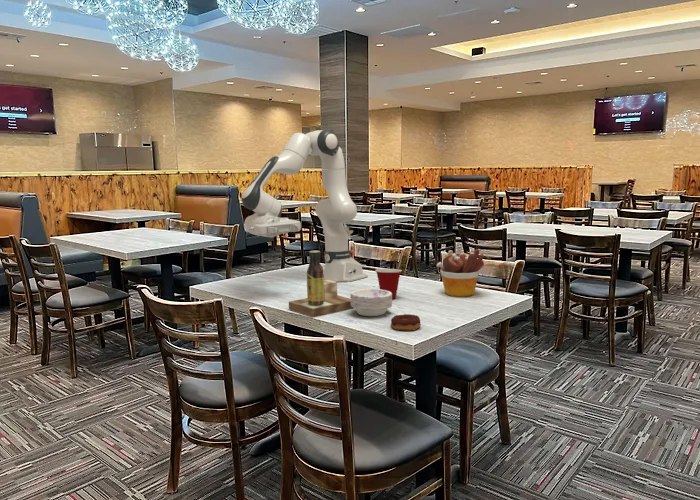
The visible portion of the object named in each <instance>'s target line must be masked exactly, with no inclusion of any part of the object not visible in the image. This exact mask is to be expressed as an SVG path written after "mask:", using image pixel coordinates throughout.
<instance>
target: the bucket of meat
mask: <svg viewBox="0 0 700 500" xmlns="http://www.w3.org/2000/svg"><path fill="white" fill-rule="evenodd" d="M444 257H445V258H444V259H443V261H442V262H441V261H439V262H438V263H437V264H436V267H437V268H440V269H439V271H440V275H441V279H442V280H441V281H442V284H443V290H444V293H446V294H447V295H448V296H451V297H456V298H457V297H458V298H466V297H471V296H473V295H474V294H475V290H476V286H477V282H478V278H479V274H480V270H481V269H482V268H483V267H484V265H485V263H484V261H483V259H484V257H485V255H484V254H483V253H481V254H480V249H478V248H476V249H475V250H474V251H473V253H471V254H469V253H465V252H460V254H459V253H455V252H454V251H453V250H451V249H449V250H448V252H446V253H445V254H444Z"/></svg>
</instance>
